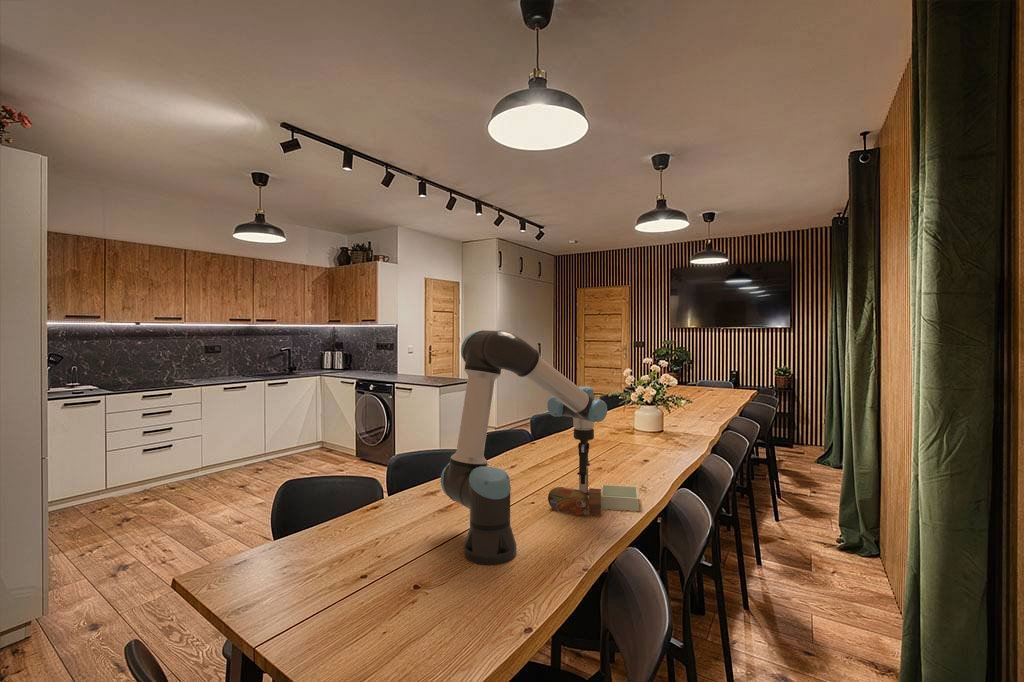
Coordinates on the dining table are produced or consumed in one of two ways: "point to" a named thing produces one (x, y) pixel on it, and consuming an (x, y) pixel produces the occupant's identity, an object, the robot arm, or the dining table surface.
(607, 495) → the tray
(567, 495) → the tin
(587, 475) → the dowel
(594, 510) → the wooden block
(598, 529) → the dining table surface
